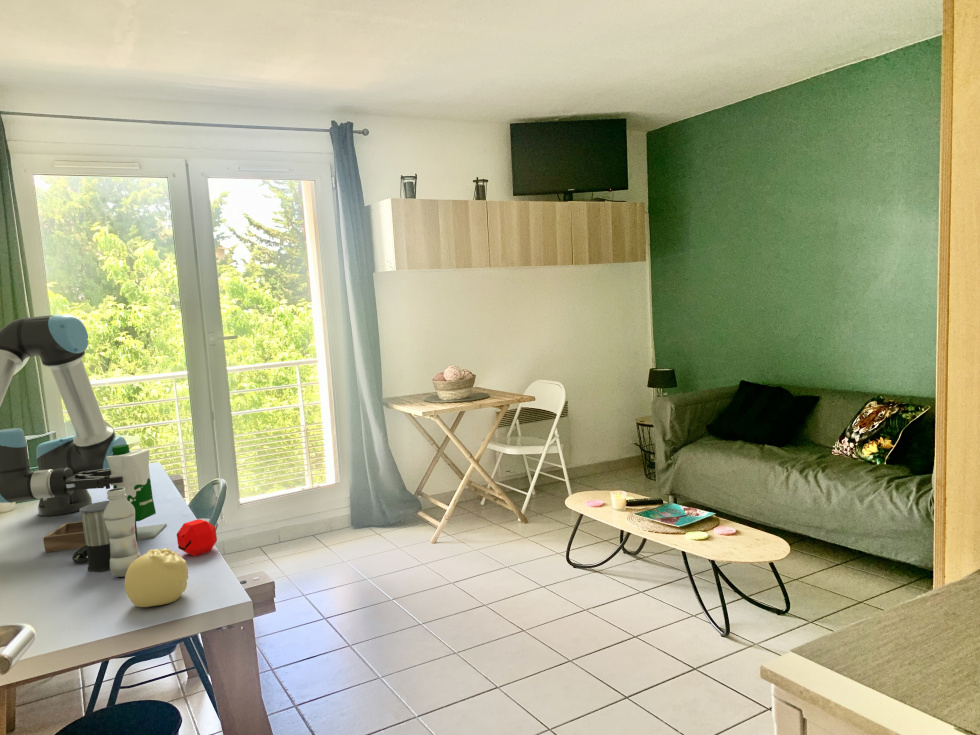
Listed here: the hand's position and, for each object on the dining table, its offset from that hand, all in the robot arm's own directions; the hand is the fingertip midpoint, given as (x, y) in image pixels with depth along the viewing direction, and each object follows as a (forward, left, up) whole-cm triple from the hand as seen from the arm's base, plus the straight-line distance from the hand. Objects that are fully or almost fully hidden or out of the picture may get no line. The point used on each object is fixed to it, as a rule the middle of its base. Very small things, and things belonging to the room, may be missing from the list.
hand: (142, 473), depth 199 cm
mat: (0, -3, -17) cm, 17 cm away
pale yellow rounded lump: (+54, +18, -17) cm, 59 cm away
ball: (+23, +18, -17) cm, 34 cm away
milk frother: (+21, -5, -17) cm, 28 cm away
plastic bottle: (+34, +5, -17) cm, 38 cm away
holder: (0, -18, -17) cm, 25 cm away
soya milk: (0, -3, -12) cm, 13 cm away
